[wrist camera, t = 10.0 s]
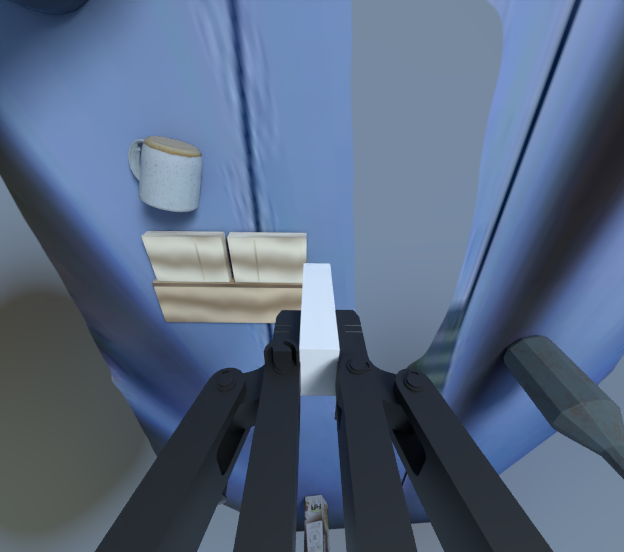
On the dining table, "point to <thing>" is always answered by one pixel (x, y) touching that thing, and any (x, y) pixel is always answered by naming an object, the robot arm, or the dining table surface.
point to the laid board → (226, 301)
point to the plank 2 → (267, 256)
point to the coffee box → (316, 525)
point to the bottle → (568, 397)
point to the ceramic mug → (167, 173)
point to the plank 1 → (188, 256)
